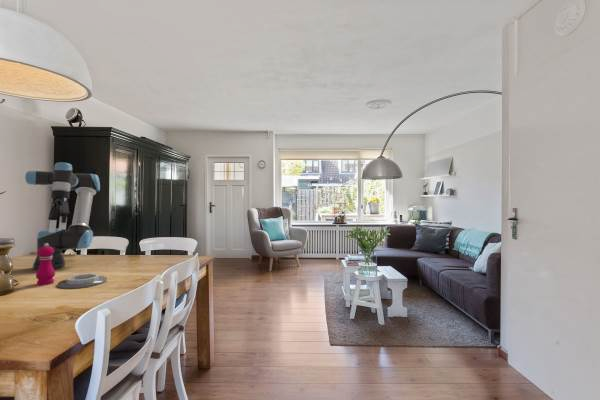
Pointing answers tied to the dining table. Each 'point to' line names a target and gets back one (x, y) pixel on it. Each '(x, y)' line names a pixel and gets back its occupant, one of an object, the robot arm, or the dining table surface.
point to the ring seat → (82, 281)
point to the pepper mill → (45, 266)
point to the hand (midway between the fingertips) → (56, 231)
